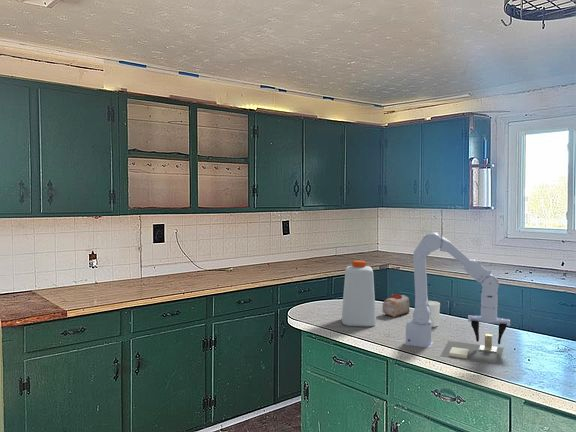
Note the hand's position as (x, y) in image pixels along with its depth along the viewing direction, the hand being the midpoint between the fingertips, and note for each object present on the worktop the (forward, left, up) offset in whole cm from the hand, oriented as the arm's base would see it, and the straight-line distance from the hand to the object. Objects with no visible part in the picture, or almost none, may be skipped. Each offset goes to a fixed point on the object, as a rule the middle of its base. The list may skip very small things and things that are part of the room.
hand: (488, 342), depth 190 cm
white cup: (-26, +27, -4) cm, 38 cm away
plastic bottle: (-56, +17, -4) cm, 59 cm away
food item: (-44, +39, -4) cm, 59 cm away
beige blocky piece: (0, 0, -3) cm, 3 cm away
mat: (-5, -5, -3) cm, 8 cm away
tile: (-9, -7, -2) cm, 11 cm away
